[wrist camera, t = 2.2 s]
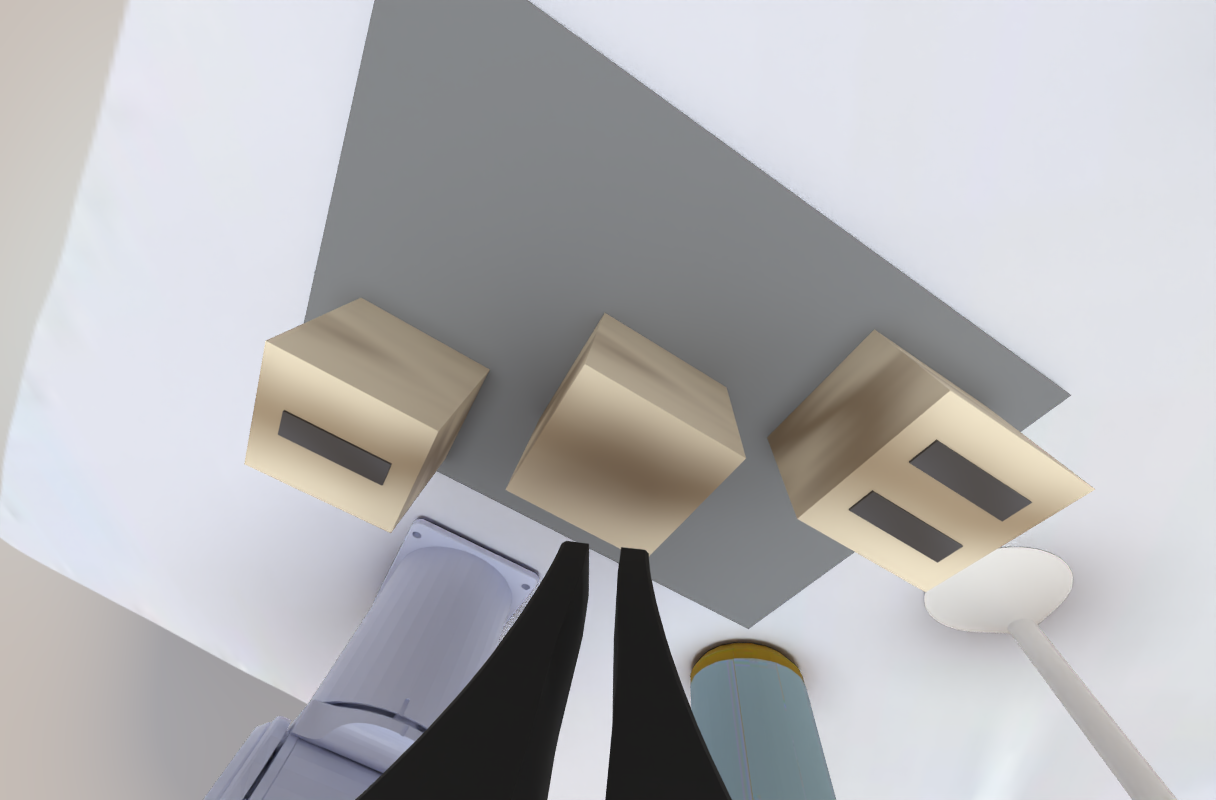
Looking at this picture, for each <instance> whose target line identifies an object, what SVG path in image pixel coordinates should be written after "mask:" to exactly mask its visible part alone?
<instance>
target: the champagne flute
mask: <svg viewBox="0 0 1216 800" xmlns="http://www.w3.org/2000/svg"><path fill="white" fill-rule="evenodd" d="M1072 584H1073V576H1072V572H1071V570H1070V568H1069V566H1068V565H1067V564H1066V563H1065V562H1064V561H1063V560H1062V559H1061V558H1059V557H1057V556H1055V555H1053V554H1051V553H1049V552H1045V551H1042V550H1039V549H1032V548H1025V547H1007V548H998V549H996V550H995V551H993V552H991V553H990V554H988V555H986V556H985V557H983V558H981V559H980V560H978V561H976V562H975V563H973V564H971V565H970V566H968V567H967V568H965V569H963V570H962V571H960V572H958V573H957V574H955V575H953V576H952V577H950V578H948V579H947V580H945V581H943V582H942V583H940V584H939V585H937V586H935V587H934V588H932V589H930V590H929V591H927V592H925V595H924V604H925V607H926V610H927V611H928V613H929V614H930V615H931V617H932V618H934V619H935V620H936V621H938V622H939V623H941V624H943V625H945V626H947V627H950V628H953V629H957V630H962V631H968V632H985V633H1008V634H1011V635H1012V636H1013V638H1014V639H1015V640H1016V642H1017V643H1018V644H1019V646H1020V647H1021V649H1022V650H1023V651H1024V653H1025V654H1026V655H1027V657H1028V658H1029V659H1030V661H1031V662H1032V664H1033V665H1034V666H1035V668H1036V669H1037V670H1038V672H1039V673H1040V674H1041V676H1042V677H1043V679H1044V680H1045V681H1046V683H1047V684H1048V685H1049V687H1050V688H1051V689H1052V691H1053V692H1054V694H1055V695H1056V696H1057V698H1058V699H1059V700H1060V702H1061V703H1062V705H1063V706H1064V707H1065V709H1066V710H1067V711H1068V713H1069V714H1070V715H1071V717H1072V718H1073V720H1074V721H1075V722H1076V724H1077V725H1078V726H1079V728H1080V729H1081V730H1082V732H1083V733H1084V735H1085V736H1086V737H1087V739H1088V740H1089V741H1090V743H1091V744H1092V745H1093V747H1094V748H1095V750H1096V751H1097V752H1098V754H1099V755H1100V756H1101V758H1102V759H1103V761H1104V762H1105V763H1106V765H1107V766H1108V767H1109V769H1110V770H1111V771H1112V773H1113V774H1114V776H1115V777H1116V778H1117V780H1118V781H1119V782H1120V784H1121V785H1122V786H1123V788H1124V789H1125V791H1126V792H1127V793H1128V795H1129V796H1130V797H1131V799H1132V800H1177V798H1176V797H1175V796H1174V795H1173V793H1172V792H1171V791H1170V790H1169V788H1168V787H1167V786H1166V785H1165V783H1164V782H1163V781H1162V780H1161V778H1160V777H1159V776H1158V775H1157V773H1156V772H1155V771H1154V770H1153V768H1152V767H1151V766H1150V765H1149V763H1148V762H1147V761H1146V760H1145V758H1144V757H1143V756H1142V755H1141V754H1140V752H1139V751H1138V750H1137V749H1136V747H1135V746H1134V745H1133V744H1132V742H1131V741H1130V740H1129V739H1128V737H1127V736H1126V735H1125V734H1124V732H1123V731H1122V730H1121V729H1120V727H1119V726H1118V725H1117V724H1116V722H1115V721H1114V720H1113V719H1112V717H1111V716H1110V715H1109V714H1108V712H1107V711H1106V710H1105V709H1104V707H1103V706H1102V705H1101V704H1100V702H1099V701H1098V700H1097V699H1096V697H1095V696H1094V695H1093V694H1092V693H1091V691H1090V690H1089V689H1088V688H1087V686H1086V685H1085V684H1084V683H1083V681H1082V680H1081V679H1080V678H1079V676H1078V675H1077V674H1076V673H1075V671H1074V670H1073V669H1072V668H1071V666H1070V665H1069V664H1068V663H1067V661H1066V660H1065V659H1064V658H1063V656H1062V655H1061V654H1060V653H1059V651H1058V650H1057V649H1056V648H1055V646H1054V645H1053V644H1052V643H1051V641H1050V640H1049V639H1048V638H1047V637H1046V635H1045V634H1044V633H1043V632H1042V630H1041V629H1040V628H1039V627H1038V624H1040V623H1041V622H1042V621H1043V620H1044V619H1045V618H1046V617H1047V616H1048V615H1050V614H1051V613H1052V612H1053V611H1054V610H1055V609H1056V608H1057V607H1058V606H1059V605H1060V604H1061V603H1062V602H1063V601H1064V600H1065V599H1066V598H1067V596H1068V594H1069V592H1070V591H1071V588H1072Z"/></svg>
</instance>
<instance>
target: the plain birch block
mask: <svg viewBox="0 0 1216 800" xmlns="http://www.w3.org/2000/svg"><path fill="white" fill-rule="evenodd" d="M745 459H746V456H745V453H744V449H743V445H742V442H741V438H740V434H739V431H738V427H737V424H736V420H735V416H734V413H733V409H732V405H731V402H730V398H729V395H728V391H727V387H725V386H723V385H722V384H720V383H719V382H717V381H715V380H714V379H712V378H710V377H709V376H707V375H706V374H704V373H702V372H701V371H699V370H697V369H696V368H694V367H693V366H691V365H689V364H688V363H686V362H684V361H683V360H681V359H679V358H678V357H676V356H675V355H673V354H671V353H670V352H668V351H666V350H665V349H663V348H662V347H660V346H658V345H657V344H655V343H653V342H652V341H650V340H649V339H647V338H645V337H644V336H642V335H640V334H639V333H637V332H635V331H634V330H632V329H631V328H629V327H627V326H626V325H624V324H622V323H621V322H619V321H618V320H616V319H614V318H613V317H611V316H609V315H608V314H606V313H604V315H603V316H602V318H601V320H600V321H599V323H598V324H597V326H596V328H595V329H594V331H593V333H592V334H591V336H590V337H589V339H588V341H587V342H586V344H585V346H584V347H583V349H582V351H581V352H580V354H579V355H578V357H577V359H576V360H575V362H574V364H573V365H572V367H571V368H570V370H569V372H568V373H567V375H566V377H565V378H564V380H563V381H562V383H561V385H560V386H559V388H558V390H557V391H556V393H555V395H554V396H553V398H552V399H551V401H550V403H549V404H548V406H547V408H546V409H545V411H544V412H543V414H542V416H541V417H540V419H539V421H538V423H537V425H536V427H535V429H534V432H533V434H532V436H531V438H530V440H529V442H528V444H527V446H526V448H525V450H524V452H523V454H522V456H521V459H520V461H519V463H518V465H517V467H516V469H515V471H514V473H513V475H512V477H511V479H510V481H509V483H508V486H507V488H506V490H507V491H508V492H510V493H512V494H514V495H516V496H518V497H520V498H522V499H524V500H526V501H528V502H530V503H532V504H534V505H536V506H538V507H540V508H542V509H544V510H545V511H547V512H549V513H551V514H553V515H555V516H557V517H559V518H561V519H563V520H565V521H567V522H569V523H571V524H573V525H575V526H577V527H579V528H581V529H582V530H584V531H586V532H588V533H590V534H592V535H594V536H596V537H598V538H600V539H602V540H604V541H606V542H608V543H610V544H612V545H614V546H616V547H618V548H619V549H621V547H625V548H634V549H643V550H646V551H647V552H648V553H649V556H650V555H651V554H652V553H653V552H654V551H655V550H656V549H657V548H658V547H659V546H660V545H661V544H662V543H663V542H664V541H665V540H666V539H667V538H668V537H669V536H670V535H671V534H672V533H673V532H674V531H675V530H676V529H677V528H678V527H679V526H680V525H681V524H682V523H683V522H684V521H685V520H686V519H687V518H688V517H689V516H690V515H691V514H692V513H693V512H694V511H695V509H696V508H697V507H698V506H699V505H700V504H701V503H702V502H703V501H704V500H705V499H706V498H707V497H708V496H709V495H710V494H711V493H712V492H713V491H714V490H715V489H716V488H717V487H718V486H719V485H720V484H721V483H722V482H723V481H724V480H725V479H726V478H727V477H728V476H729V475H730V474H731V473H732V472H733V471H734V470H735V469H736V468H737V467H738V466H739V465H740V464H741V463H742V462H743V461H744V460H745Z"/></svg>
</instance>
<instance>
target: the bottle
mask: <svg viewBox="0 0 1216 800" xmlns="http://www.w3.org/2000/svg"><path fill="white" fill-rule="evenodd" d="M690 677H691V686H690V688H691V708H692V712H693V715H694V717H695V720H696V722H697V725H698V727H699V729H700V731H701V734H702V736H703V738H704V741H705V743H706V745H707V748H708V750H709V752H710V755H711V757H712V759H713V761H714V763H715V765H716V767H717V769H718V771H719V774H720V776H721V778H722V780H723V782H724V784H725V786H726V788H727V790H728V792H729V795H730V797H731V799H732V800H836V797H835V794H834V790H833V786H832V782H831V779H830V775H829V771H828V768H827V764H826V760H825V756H824V753H823V749H822V745H821V742H820V738H819V734H818V730H817V727H816V723H815V719H814V716H813V712H812V708H811V704H810V701H809V697H808V693H807V690H806V686H805V684H804V681H803V677H802V674H801V672H800V671H799V669H798V667H797V666H796V665H795V664H793V663H792V662H791V661H790V660H788V659H787V658H786V657H785V656H783V655H782V654H781V653H780V652H778V651H776V650H774V649H771V648H769V647H767V646H763V645H758V644H753V643H732V644H727V645H721V646H719V647H716V648H714V649H712V650H709V651H708V652H707V653H706V654H705V655H703V656H702V657H701V658H700V660H699V661H698V662H697V663H696V664H695V666H694V667H693V670H692V672H691V676H690Z"/></svg>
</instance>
